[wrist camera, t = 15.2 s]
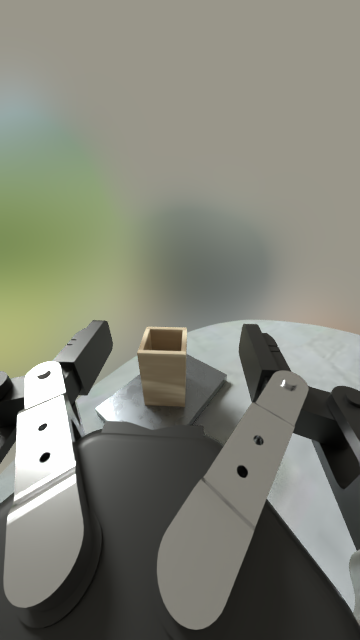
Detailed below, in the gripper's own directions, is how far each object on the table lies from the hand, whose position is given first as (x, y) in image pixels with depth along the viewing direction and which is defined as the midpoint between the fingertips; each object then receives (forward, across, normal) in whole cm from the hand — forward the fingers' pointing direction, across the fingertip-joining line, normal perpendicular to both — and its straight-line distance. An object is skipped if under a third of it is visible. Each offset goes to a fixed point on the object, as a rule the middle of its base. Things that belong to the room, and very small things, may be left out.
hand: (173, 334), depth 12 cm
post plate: (+11, +3, +21) cm, 24 cm away
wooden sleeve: (+12, +3, +19) cm, 23 cm away
